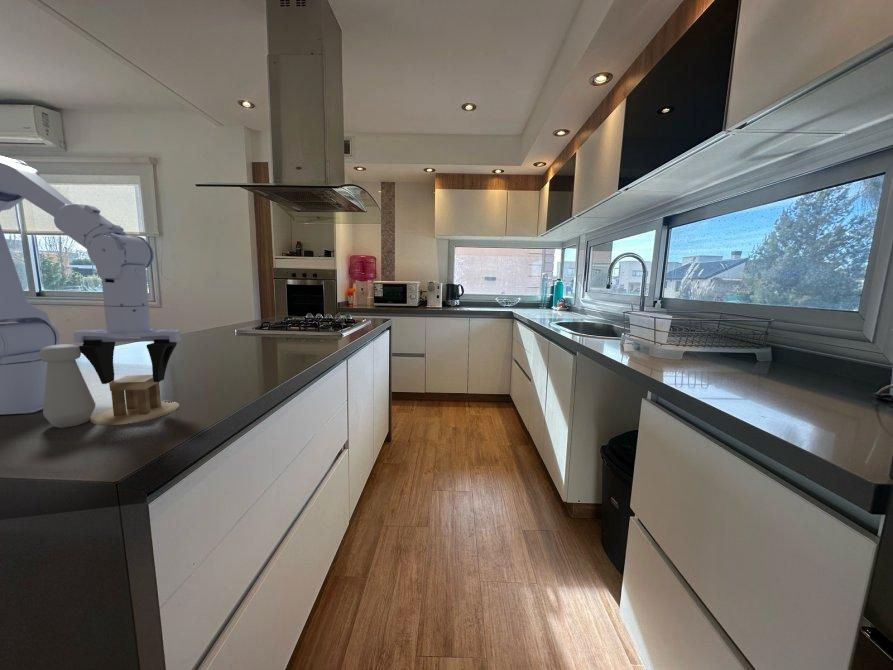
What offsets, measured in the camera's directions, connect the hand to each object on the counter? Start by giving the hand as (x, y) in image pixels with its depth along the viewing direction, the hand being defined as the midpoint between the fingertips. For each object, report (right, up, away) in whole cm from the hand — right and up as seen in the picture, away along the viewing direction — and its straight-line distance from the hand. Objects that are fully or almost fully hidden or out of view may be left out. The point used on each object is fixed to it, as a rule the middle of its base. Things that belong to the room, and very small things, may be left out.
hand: (134, 381), depth 62 cm
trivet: (0, -6, +1) cm, 6 cm away
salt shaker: (-6, -6, -5) cm, 10 cm away
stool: (0, -5, +1) cm, 6 cm away
